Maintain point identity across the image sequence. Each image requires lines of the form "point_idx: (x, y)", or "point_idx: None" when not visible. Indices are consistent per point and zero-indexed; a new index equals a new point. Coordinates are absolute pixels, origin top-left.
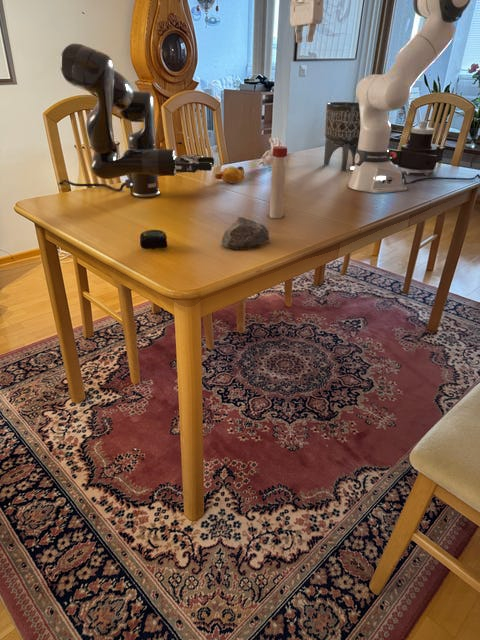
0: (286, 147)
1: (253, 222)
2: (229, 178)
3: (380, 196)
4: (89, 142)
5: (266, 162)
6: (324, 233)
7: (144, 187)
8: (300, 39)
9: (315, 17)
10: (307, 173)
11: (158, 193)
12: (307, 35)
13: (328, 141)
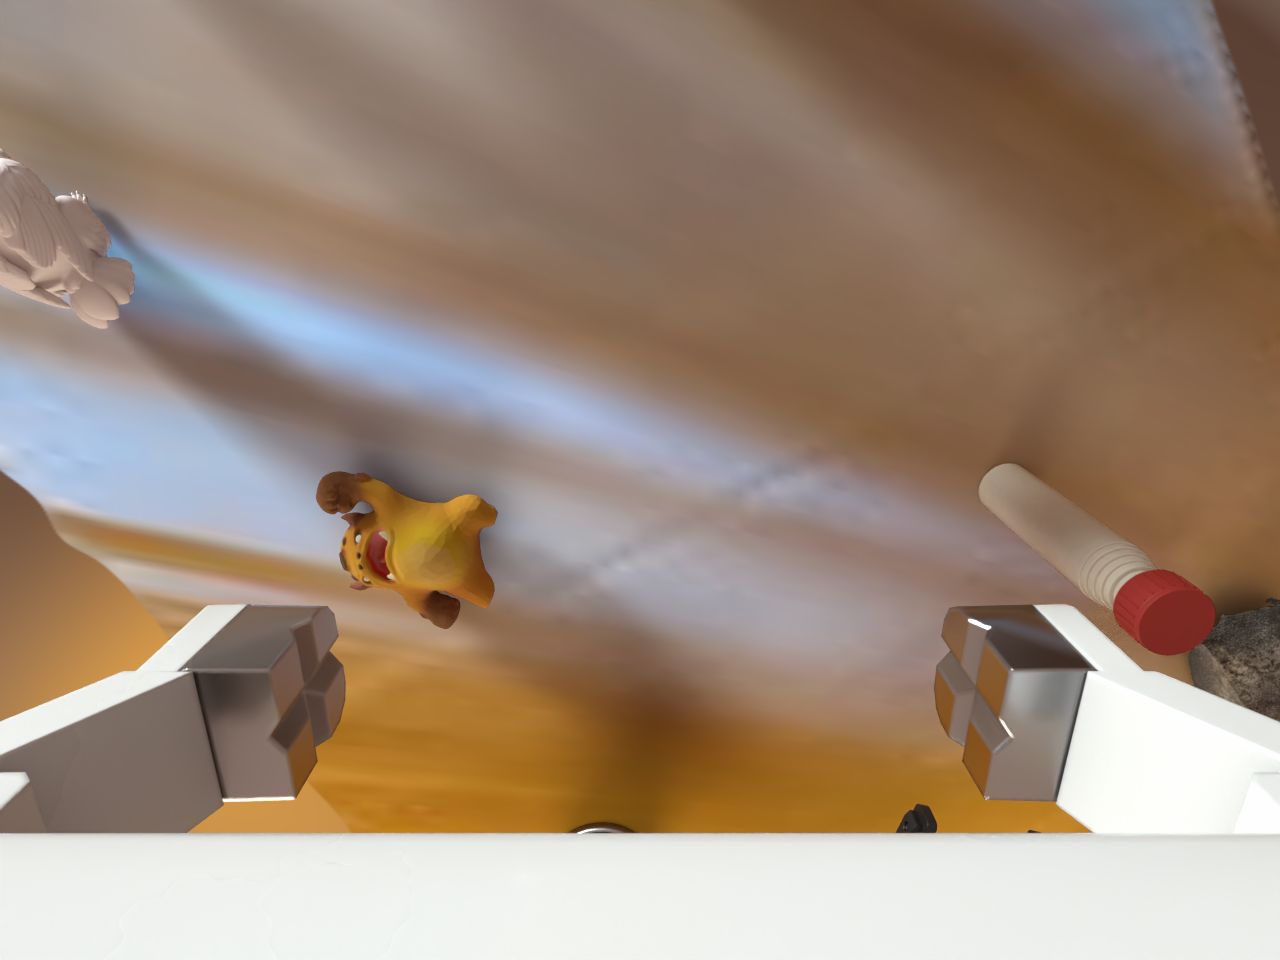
0: (1193, 593)
1: (1274, 670)
2: (484, 569)
3: None
4: None
5: (123, 289)
6: (1259, 376)
7: None
8: (296, 673)
9: None
10: (217, 22)
11: (623, 831)
12: (1062, 796)
13: None
